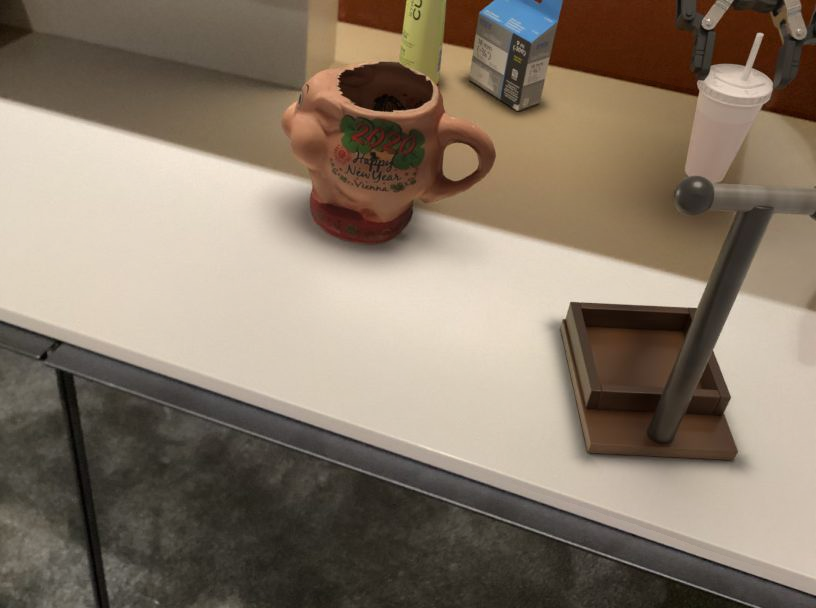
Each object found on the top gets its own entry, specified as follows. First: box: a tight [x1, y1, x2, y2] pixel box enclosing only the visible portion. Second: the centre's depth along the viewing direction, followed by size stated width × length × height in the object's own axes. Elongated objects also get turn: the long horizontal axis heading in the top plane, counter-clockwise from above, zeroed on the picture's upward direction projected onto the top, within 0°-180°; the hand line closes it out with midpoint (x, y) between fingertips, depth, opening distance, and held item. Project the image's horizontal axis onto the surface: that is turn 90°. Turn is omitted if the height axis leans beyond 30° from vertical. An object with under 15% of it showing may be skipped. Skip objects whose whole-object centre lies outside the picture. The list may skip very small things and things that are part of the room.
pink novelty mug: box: [280, 61, 497, 245], centre depth 89 cm, size 20×12×14 cm, turn 75°
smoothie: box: [684, 32, 774, 184], centre depth 88 cm, size 6×6×14 cm
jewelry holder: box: [559, 176, 816, 461], centre depth 70 cm, size 11×14×23 cm
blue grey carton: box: [468, 0, 564, 112], centre depth 108 cm, size 9×4×12 cm, turn 33°
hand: (741, 81), depth 85 cm, fingers closed on smoothie, 6 cm apart
